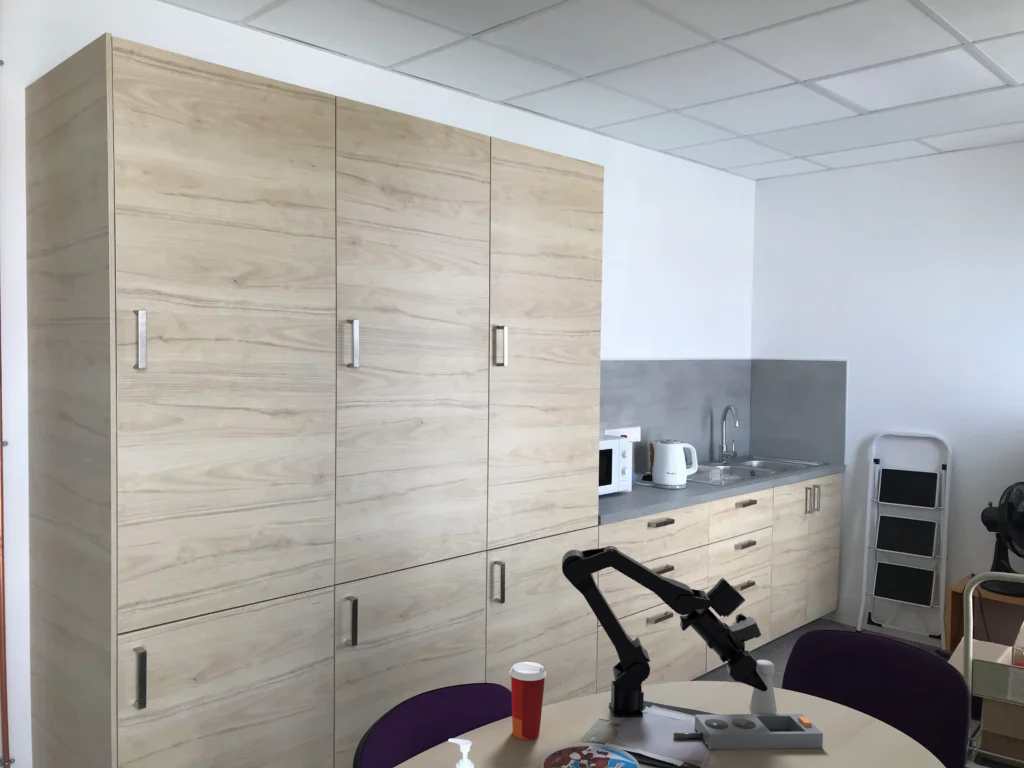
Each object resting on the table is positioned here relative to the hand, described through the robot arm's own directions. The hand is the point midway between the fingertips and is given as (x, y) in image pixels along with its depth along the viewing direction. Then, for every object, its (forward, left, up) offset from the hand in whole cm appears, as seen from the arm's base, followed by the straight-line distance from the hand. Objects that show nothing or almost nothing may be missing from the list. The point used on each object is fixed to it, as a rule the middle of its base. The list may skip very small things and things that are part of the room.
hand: (761, 682), depth 178 cm
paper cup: (-53, -6, -9) cm, 54 cm away
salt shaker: (+1, 0, -9) cm, 9 cm away
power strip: (-7, -9, -8) cm, 14 cm away
